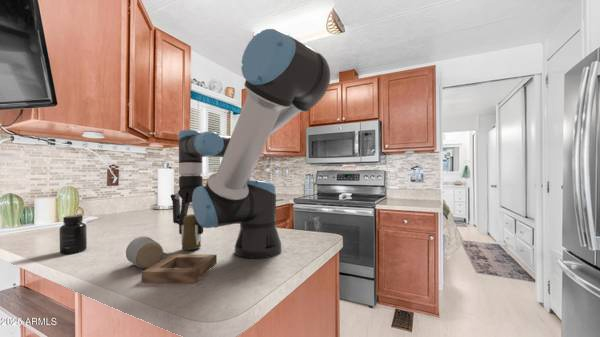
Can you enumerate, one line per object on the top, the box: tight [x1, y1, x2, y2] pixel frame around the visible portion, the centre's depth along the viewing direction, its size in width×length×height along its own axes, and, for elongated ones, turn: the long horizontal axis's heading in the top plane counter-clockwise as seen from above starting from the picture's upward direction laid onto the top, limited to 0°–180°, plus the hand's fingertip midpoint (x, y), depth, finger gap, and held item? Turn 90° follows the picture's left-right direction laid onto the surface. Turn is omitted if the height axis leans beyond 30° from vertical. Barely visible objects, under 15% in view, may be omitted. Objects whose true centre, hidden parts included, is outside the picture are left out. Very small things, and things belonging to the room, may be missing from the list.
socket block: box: [141, 253, 218, 284], centre depth 66 cm, size 13×13×2 cm
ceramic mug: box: [125, 236, 171, 270], centre depth 72 cm, size 11×8×8 cm
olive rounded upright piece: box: [181, 213, 202, 250], centre depth 86 cm, size 6×6×11 cm
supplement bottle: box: [58, 214, 88, 255], centre depth 85 cm, size 7×7×12 cm
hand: (191, 243), depth 86 cm, fingers closed on olive rounded upright piece, 4 cm apart
